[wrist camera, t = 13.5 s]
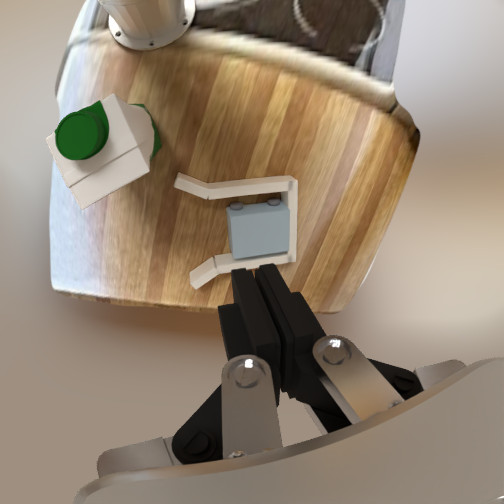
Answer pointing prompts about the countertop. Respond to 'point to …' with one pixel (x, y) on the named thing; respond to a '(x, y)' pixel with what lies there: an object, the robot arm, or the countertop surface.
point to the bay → (241, 188)
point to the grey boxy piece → (258, 228)
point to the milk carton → (104, 148)
